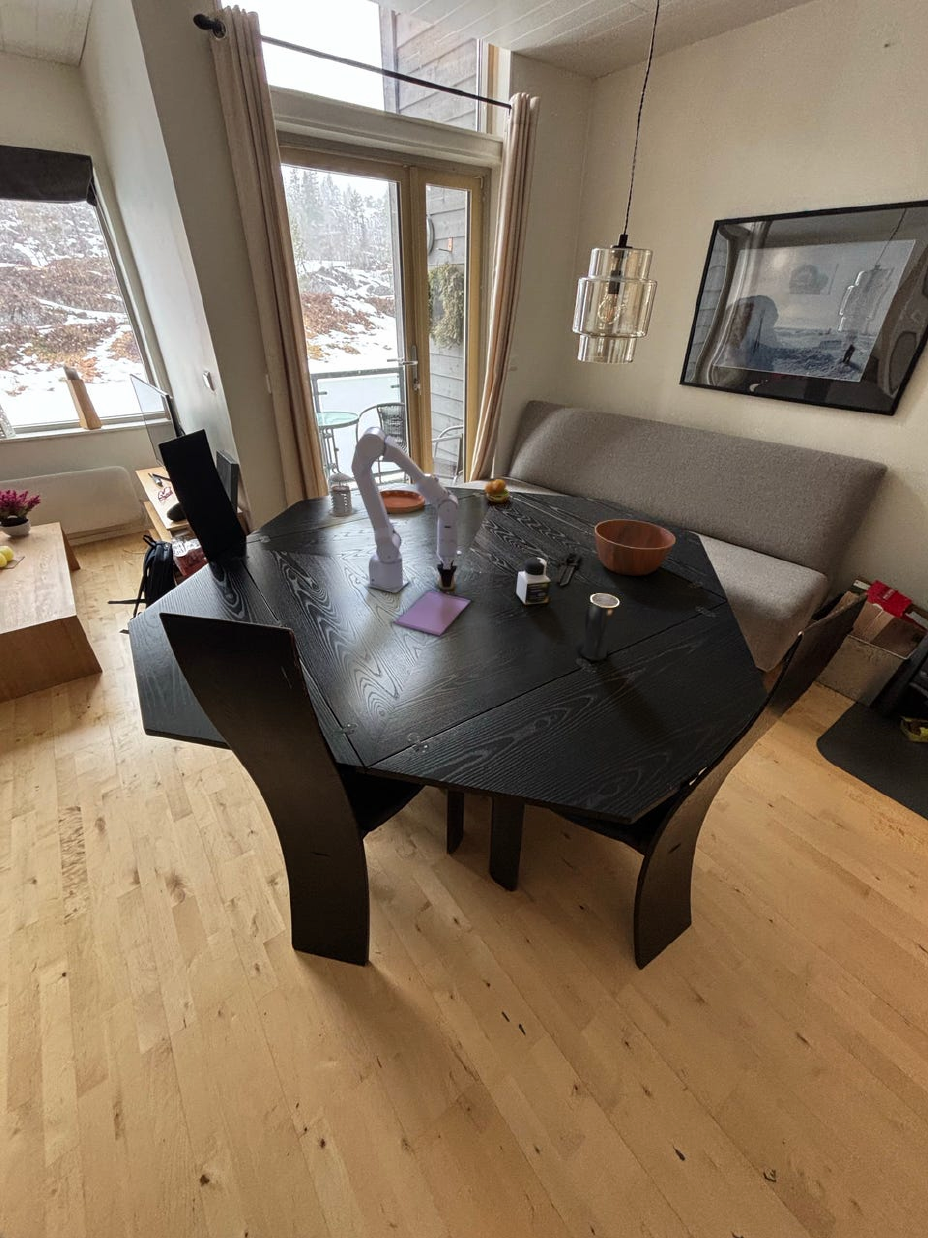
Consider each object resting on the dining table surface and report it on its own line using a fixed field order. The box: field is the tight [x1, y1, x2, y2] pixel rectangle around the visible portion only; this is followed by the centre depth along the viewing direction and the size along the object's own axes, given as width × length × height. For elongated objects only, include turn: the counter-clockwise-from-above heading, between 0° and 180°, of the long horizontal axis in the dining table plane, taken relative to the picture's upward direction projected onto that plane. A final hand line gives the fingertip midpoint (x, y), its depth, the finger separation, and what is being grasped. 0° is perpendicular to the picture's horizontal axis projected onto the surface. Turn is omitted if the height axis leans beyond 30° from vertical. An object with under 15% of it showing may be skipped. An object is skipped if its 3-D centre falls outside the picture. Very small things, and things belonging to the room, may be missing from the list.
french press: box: [327, 447, 356, 517], centre depth 193 cm, size 10×12×25 cm
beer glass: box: [580, 593, 620, 662], centre depth 118 cm, size 7×7×15 cm
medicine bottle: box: [515, 557, 551, 606], centre depth 142 cm, size 7×7×12 cm
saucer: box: [379, 489, 426, 514], centre depth 207 cm, size 23×23×4 cm
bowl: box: [594, 519, 676, 577], centre depth 163 cm, size 25×25×11 cm
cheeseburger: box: [484, 478, 510, 504], centre depth 217 cm, size 10×11×10 cm
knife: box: [554, 551, 581, 586], centre depth 161 cm, size 25×6×1 cm, turn 154°
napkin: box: [394, 590, 471, 637], centre depth 136 cm, size 13×20×1 cm, turn 156°
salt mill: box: [438, 565, 455, 591], centre depth 147 cm, size 4×4×8 cm
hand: (446, 580), depth 148 cm, fingers open, 7 cm apart
